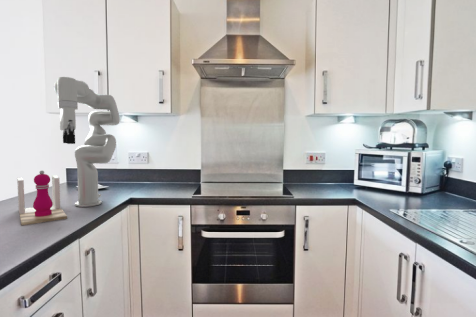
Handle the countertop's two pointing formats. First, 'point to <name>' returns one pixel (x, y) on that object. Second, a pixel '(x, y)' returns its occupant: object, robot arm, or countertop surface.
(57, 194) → the gate
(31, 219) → the oak board
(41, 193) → the pepper mill
